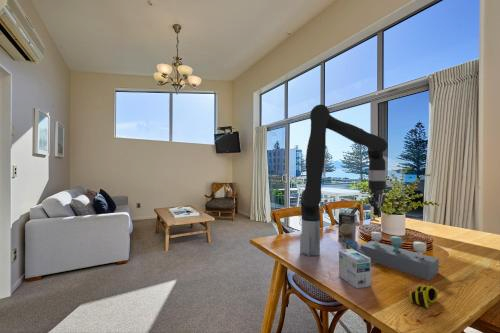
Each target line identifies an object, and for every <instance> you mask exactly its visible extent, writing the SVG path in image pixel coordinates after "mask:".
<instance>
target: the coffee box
mask: <svg viewBox="0 0 500 333" xmlns="http://www.w3.org/2000/svg"><path fill="white" fill-rule="evenodd" d="M356 223H357V214H356V213H348V212H342V211H341V212H339V213H338V232H337V233H338V239H337V240H338V242H345V243H346V238H348V239H349V240H351V241H353V242H355V243H356V241H357V240H356V238H357V237H356V235H357V234H356V233H357V232H356V231H357V230H356V229H357V228H356V227H357V224H356ZM349 243H350V242H349ZM350 244H351V243H350Z"/></svg>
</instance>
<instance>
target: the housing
mask: <svg viewBox="0 0 500 333" xmlns="http://www.w3.org/2000/svg"><path fill="white" fill-rule="evenodd" d="M359 250H361V251H363V252H364V253H365V256H367V257H370V258H371V262H374V263H377V264H380V265H383V266H384V267H388V266H389V267H388V268H391V269H394V270H397V271H401V272H403V273H406V274H408V273H409V274H408V275H412V276H415V277H418V278H420V277H421V279H423V278H424V280H427V281H430V280H432V279H433V278H434V277H435V276H437V275H438V274H439V268H440V267H439V263H440V262H439V260H440V259H439V258H438V257H433V256H430V255H426V254H423V260H421V259H418V258H417V252H416V251H412V250H408V249H403V248H400V247H399V253H396V252H394V245H389V244H384V243H381V242H379V247H375V246H374V240H370V241H368V242H365V243H362V244H360V249H359Z"/></svg>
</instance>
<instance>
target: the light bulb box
mask: <svg viewBox="0 0 500 333" xmlns="http://www.w3.org/2000/svg"><path fill="white" fill-rule="evenodd" d="M338 276H339V277H340V278H341V279H343V280H344V281H346V282H347V283H349V284H350V285H351V286H353V287H354V288H355V289H362V288H367V287H372V261H371V258H370V257H367V256H365V255H363V254H361V253H359V252H357V251H355V250H353V249H346V248H345V249H339V250H338Z"/></svg>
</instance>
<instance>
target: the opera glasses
mask: <svg viewBox="0 0 500 333" xmlns="http://www.w3.org/2000/svg"><path fill="white" fill-rule="evenodd" d="M438 294H439V293H438V291H437V289H436V288H435V287H434V286H431V285H429V286H425V285H423V286H422V285H416V287H415V291H414V290H413V291H412V290H410V291H409V300H410V302H411V303H414V304H417V305H419V306H423V307H425V308H426V309H429V303H435V302H436V301H437V299H438Z"/></svg>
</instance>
